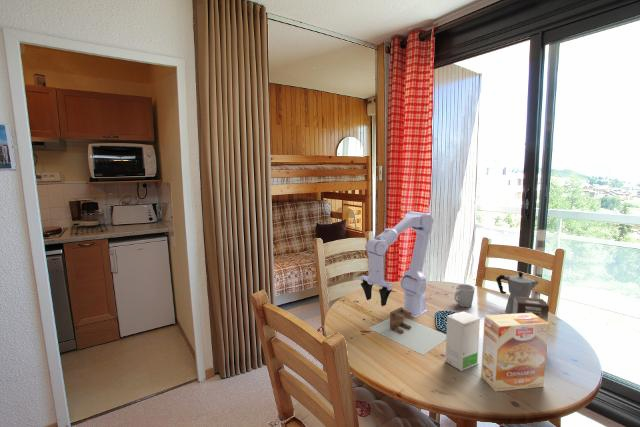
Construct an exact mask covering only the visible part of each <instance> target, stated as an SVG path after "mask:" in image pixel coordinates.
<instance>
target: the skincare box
mask: <svg viewBox="0 0 640 427" xmlns="http://www.w3.org/2000/svg"><path fill="white" fill-rule="evenodd" d="M480 320H481V317H478V316H475V315H473V314H470V313H469V312H466V311H464V310H463V311H460V312H454V313H453V314H449V315H446V333H445V334H446V340H445V360H444V361H445V362H446V363H447V364H449V365H451V367H454V368H456V369H457V370H459V371H460V372H463V371H465V370H467V369H470V368H472V367H474V366H477V365H478V364H479V344H480V340H479V339H480V322H481V321H480Z"/></svg>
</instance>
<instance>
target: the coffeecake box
mask: <svg viewBox="0 0 640 427" xmlns="http://www.w3.org/2000/svg"><path fill="white" fill-rule="evenodd" d="M549 328H550V323H549V322H548V321H545V320H543V319H541V318H540V317H538V316H536V315H535V314H533V313H531V312H530V313H517V314H509V313H503V314H486V315H484V323H483V336H482V338H483V339H482V354H481V369H480V377H481V378H482V379H483V380H484V381H485V382H486V383H487V384H488V385H489V387H490V388H491V389H492V390H493V391H494V392H503V391H514V390H522V389H523V390H524V389H526V390H527V389H533V388H534V389H536V388H543V387H544V384H545V383H544V381H545V369H546V360H547V352H548V351H547V349H548V340H549Z"/></svg>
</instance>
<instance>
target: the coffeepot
mask: <svg viewBox="0 0 640 427" xmlns="http://www.w3.org/2000/svg"><path fill="white" fill-rule="evenodd" d="M517 274H518V275H505V274H504V275H503V274H500V275H498V276H497V277H496V283H497V286H498V288H499V289H498V290H499V292H500V294H503V295H505V294H507V291H504V287H503V284H502V281H503V280H505V281H507V285H508V293H510V294H509V297H508V299H507V303H506V307H505V311H506V312H507V314H513V303H514V296H520V297H528V298H530V297H529V296H531V293H532V290H533V289H534V288H535V287H536V286H537V285H538V284H540V282H539V280H538V281H537V280H535V279H532V278H530V277H527V276H523V274H524V272H523V271H519V272H518V273H517ZM501 280H502V281H501Z"/></svg>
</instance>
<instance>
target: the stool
mask: <svg viewBox="0 0 640 427" xmlns="http://www.w3.org/2000/svg"><path fill="white" fill-rule="evenodd" d="M404 313H405V314H404ZM411 314H412V313H411V312H409V311H407V310H404V307H398V308H397V309H393V310H392V311H390V313H389V318H390V330H396V331H398V332H400V333H402V334H403V333H404V330H402V329H400V328H398V327H400V326H403V327H406V328H408V329H411V326H410V325H408V324H405V323H403V319H404V317H405V316H404V315H406V316H407V315H408V316H409V315H410V316H409V317H412V316H411Z"/></svg>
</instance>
